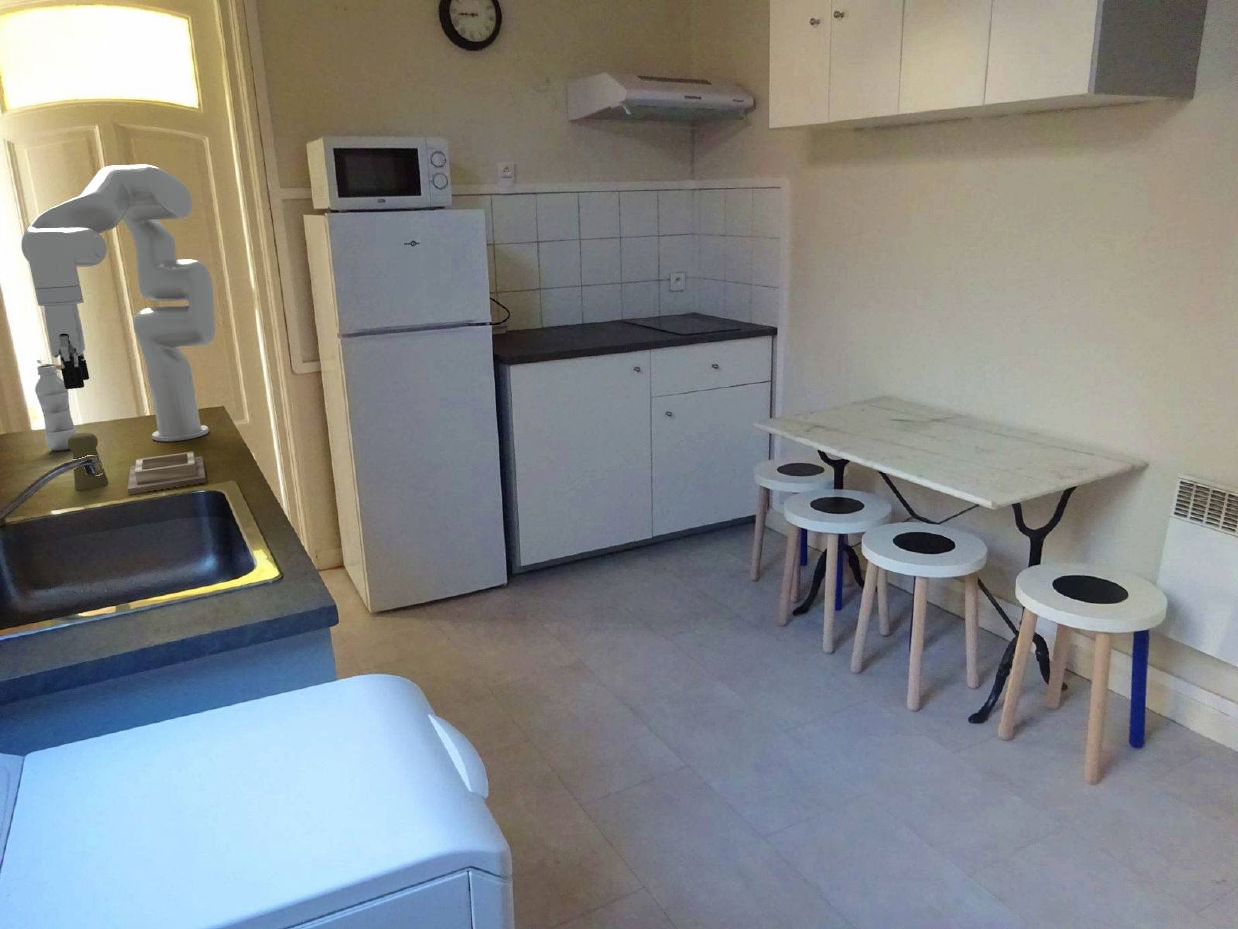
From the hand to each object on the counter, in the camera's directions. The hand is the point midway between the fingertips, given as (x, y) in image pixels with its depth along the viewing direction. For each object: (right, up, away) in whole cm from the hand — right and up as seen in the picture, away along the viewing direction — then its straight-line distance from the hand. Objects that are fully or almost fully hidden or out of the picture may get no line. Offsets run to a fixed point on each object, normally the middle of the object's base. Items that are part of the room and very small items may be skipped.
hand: (77, 384), depth 172 cm
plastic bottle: (-25, -12, +35) cm, 45 cm away
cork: (-1, -20, +7) cm, 21 cm away
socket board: (+12, -18, +11) cm, 25 cm away
